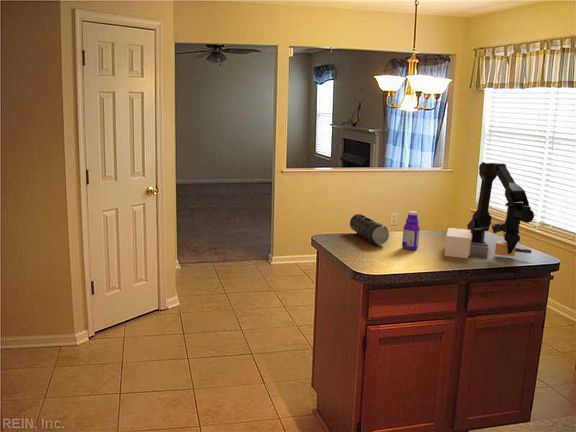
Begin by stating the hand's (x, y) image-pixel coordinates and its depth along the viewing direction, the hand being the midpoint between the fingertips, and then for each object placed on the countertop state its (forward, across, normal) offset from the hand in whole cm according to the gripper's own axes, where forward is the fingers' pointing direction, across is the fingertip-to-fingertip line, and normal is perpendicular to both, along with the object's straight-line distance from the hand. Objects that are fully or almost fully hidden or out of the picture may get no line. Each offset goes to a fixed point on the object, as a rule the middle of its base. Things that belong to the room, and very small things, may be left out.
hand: (509, 252), depth 259 cm
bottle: (+3, +4, -43) cm, 43 cm away
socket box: (+3, 0, -18) cm, 18 cm away
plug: (+1, 0, +2) cm, 2 cm away
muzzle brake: (+3, -4, -63) cm, 64 cm away
